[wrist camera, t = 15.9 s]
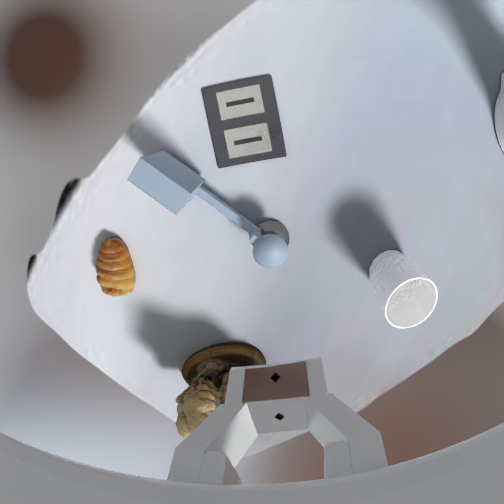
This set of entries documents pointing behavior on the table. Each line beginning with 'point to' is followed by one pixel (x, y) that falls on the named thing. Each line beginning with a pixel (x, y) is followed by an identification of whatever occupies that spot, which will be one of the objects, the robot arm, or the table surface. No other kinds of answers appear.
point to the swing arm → (188, 184)
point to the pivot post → (274, 229)
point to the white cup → (402, 289)
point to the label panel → (244, 121)
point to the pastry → (115, 268)
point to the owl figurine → (210, 381)
